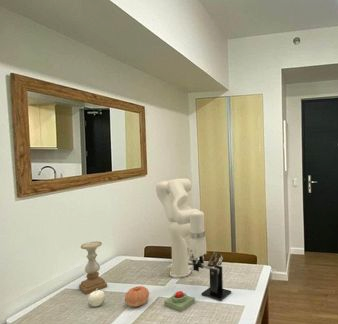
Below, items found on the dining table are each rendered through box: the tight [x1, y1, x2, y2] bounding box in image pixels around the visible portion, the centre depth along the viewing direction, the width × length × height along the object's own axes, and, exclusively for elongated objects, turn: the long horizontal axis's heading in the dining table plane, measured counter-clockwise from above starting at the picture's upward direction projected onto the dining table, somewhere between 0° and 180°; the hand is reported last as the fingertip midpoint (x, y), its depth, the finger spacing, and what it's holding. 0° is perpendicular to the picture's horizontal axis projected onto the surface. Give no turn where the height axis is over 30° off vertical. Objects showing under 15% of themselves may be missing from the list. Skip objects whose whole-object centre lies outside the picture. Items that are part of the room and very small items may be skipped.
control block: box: [163, 292, 196, 312], centre depth 132 cm, size 11×9×4 cm
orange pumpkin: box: [124, 285, 150, 308], centre depth 132 cm, size 11×11×8 cm
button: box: [174, 290, 184, 298], centre depth 131 cm, size 4×4×2 cm
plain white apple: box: [87, 288, 106, 307], centre depth 133 cm, size 7×7×8 cm
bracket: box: [201, 265, 232, 302], centre depth 140 cm, size 12×9×14 cm
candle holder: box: [78, 240, 108, 295], centre depth 150 cm, size 11×11×24 cm
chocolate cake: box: [207, 250, 224, 267], centre depth 180 cm, size 10×7×12 cm
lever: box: [198, 260, 220, 274], centre depth 143 cm, size 15×3×3 cm, turn 59°
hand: (198, 268), depth 146 cm, fingers closed on lever, 3 cm apart
